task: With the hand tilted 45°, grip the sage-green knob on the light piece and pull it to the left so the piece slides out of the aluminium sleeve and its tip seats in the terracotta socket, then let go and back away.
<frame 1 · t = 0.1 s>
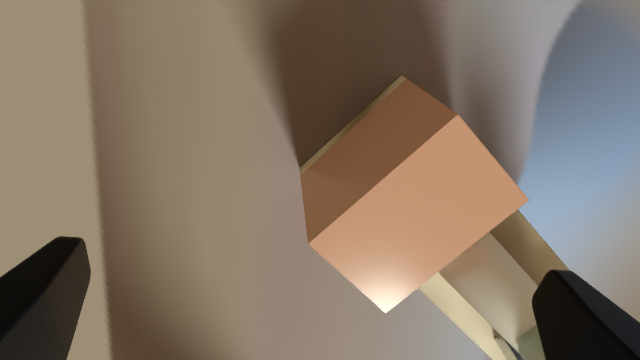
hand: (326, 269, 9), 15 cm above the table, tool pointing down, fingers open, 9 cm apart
socket: (377, 152, 25), resting on base rail
sleeve: (552, 339, 31), resting on base rail
base rail: (489, 272, 28), on the table
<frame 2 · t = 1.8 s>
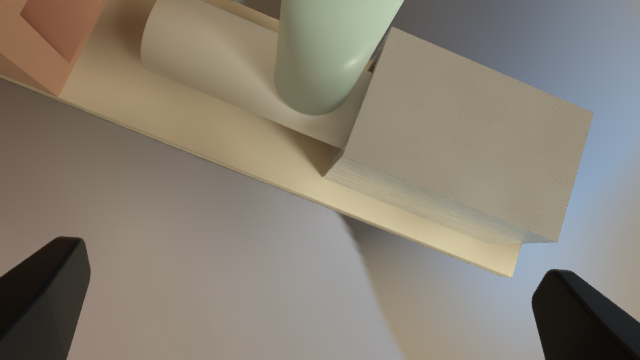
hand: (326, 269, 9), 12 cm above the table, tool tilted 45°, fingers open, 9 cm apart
socket: (54, 15, 21), resting on base rail
sleeve: (416, 163, 22), resting on base rail
light piece: (365, 64, 15), point 8 cm above the table, slide at 0.0 cm
base rail: (273, 105, 22), on the table
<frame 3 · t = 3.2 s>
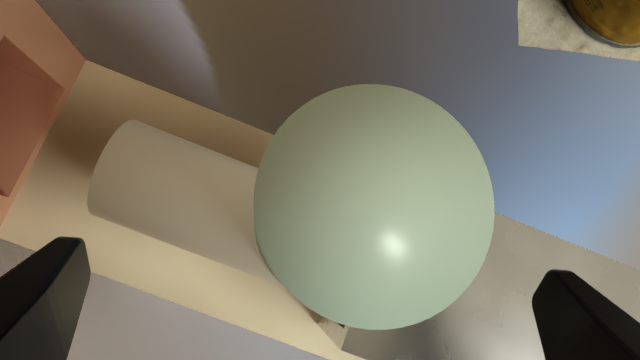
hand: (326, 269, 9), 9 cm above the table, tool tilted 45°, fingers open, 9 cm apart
sleeve: (427, 294, 19), resting on base rail
light piece: (370, 251, 11), point 8 cm above the table, slide at 0.0 cm
base rail: (258, 229, 18), on the table
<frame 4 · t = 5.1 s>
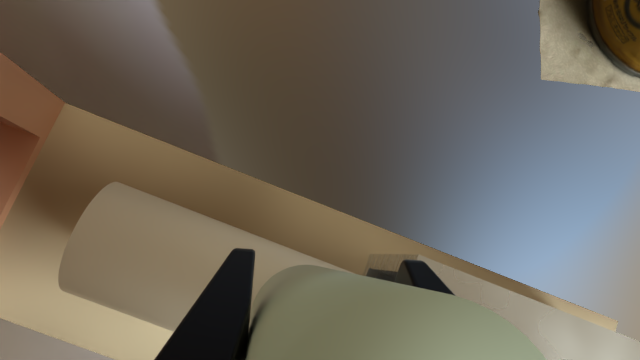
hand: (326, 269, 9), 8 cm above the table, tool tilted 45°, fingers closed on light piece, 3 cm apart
sleeve: (441, 358, 17), resting on base rail
condiment: (624, 14, 21), on the table
base rail: (255, 287, 17), on the table
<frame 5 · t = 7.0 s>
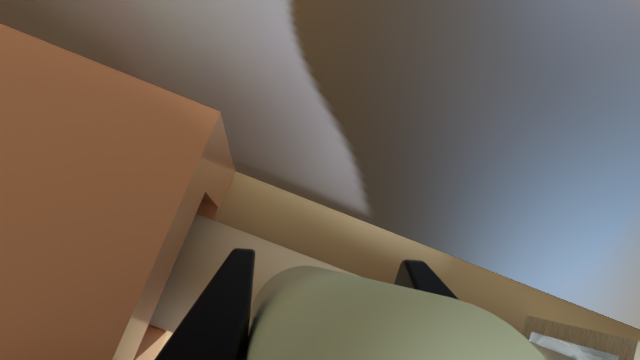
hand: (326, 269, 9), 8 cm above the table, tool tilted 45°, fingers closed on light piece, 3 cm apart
socket: (137, 244, 16), resting on base rail
base rail: (413, 347, 17), on the table
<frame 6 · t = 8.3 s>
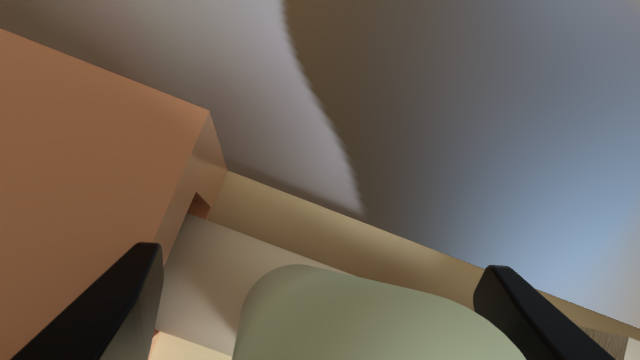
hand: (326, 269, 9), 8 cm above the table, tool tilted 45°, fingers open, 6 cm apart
socket: (129, 244, 16), resting on base rail
base rail: (406, 345, 17), on the table
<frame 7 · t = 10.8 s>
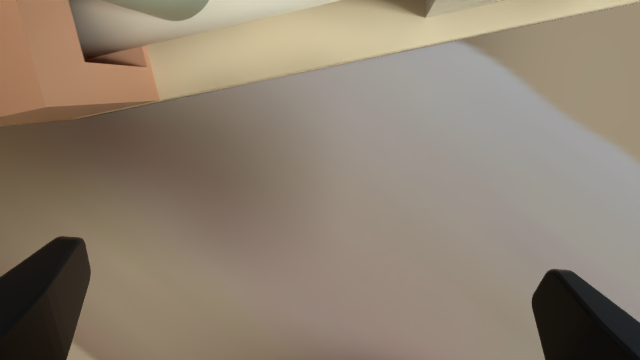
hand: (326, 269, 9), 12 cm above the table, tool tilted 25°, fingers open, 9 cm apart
socket: (105, 31, 21), resting on base rail
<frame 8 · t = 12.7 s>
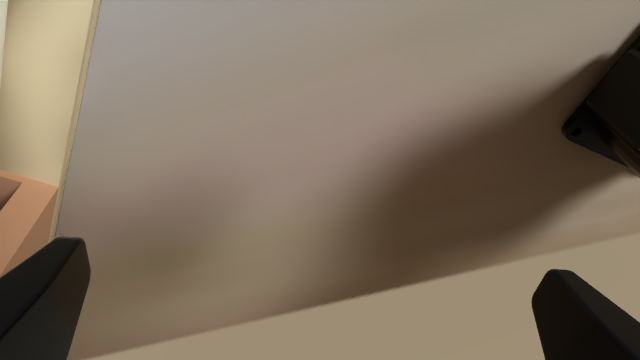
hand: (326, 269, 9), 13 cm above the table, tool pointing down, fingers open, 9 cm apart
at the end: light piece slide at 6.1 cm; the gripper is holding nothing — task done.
